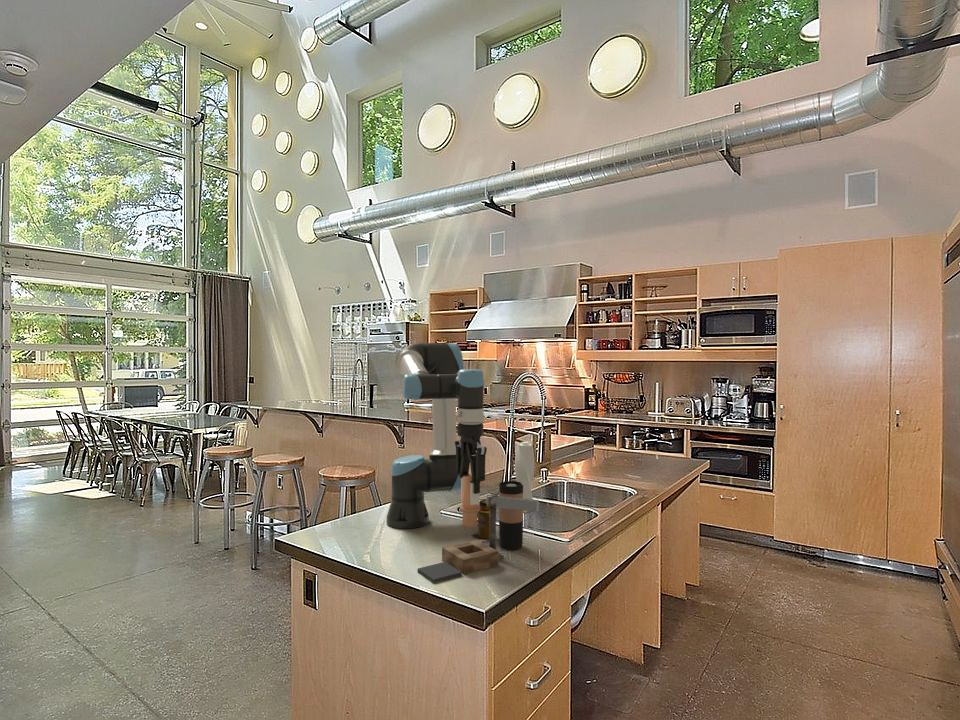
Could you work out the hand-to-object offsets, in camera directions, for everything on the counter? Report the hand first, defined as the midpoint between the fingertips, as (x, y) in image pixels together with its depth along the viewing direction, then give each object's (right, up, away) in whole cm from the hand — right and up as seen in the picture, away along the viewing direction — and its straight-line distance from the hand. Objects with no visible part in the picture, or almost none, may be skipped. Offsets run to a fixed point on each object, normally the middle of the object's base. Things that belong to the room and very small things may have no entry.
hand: (470, 501), depth 167 cm
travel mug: (+13, -18, +14) cm, 26 cm away
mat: (-8, -18, -8) cm, 22 cm away
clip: (+12, -2, +2) cm, 13 cm away
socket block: (+2, -18, +1) cm, 18 cm away
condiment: (+4, -18, +22) cm, 29 cm away
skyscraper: (+20, -17, +52) cm, 59 cm away
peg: (0, -7, 0) cm, 7 cm away
